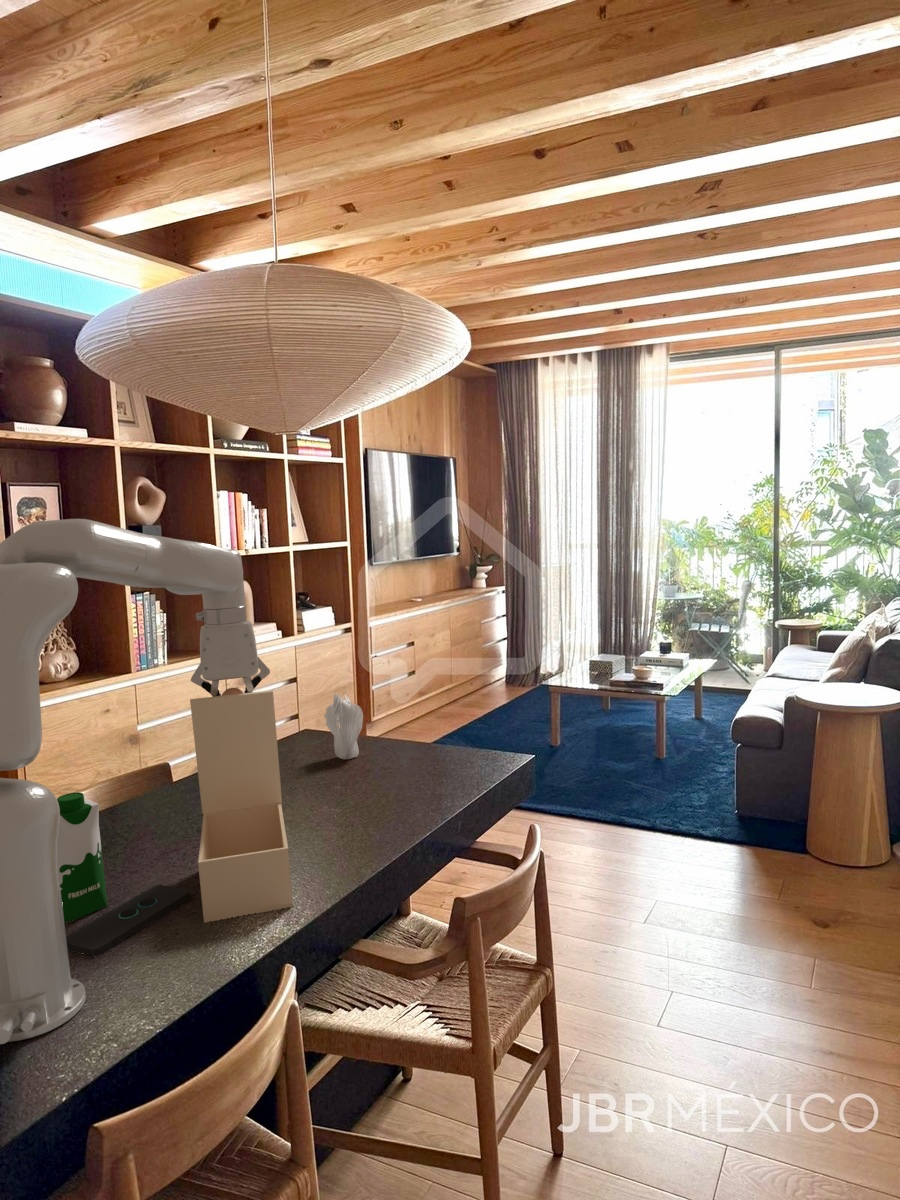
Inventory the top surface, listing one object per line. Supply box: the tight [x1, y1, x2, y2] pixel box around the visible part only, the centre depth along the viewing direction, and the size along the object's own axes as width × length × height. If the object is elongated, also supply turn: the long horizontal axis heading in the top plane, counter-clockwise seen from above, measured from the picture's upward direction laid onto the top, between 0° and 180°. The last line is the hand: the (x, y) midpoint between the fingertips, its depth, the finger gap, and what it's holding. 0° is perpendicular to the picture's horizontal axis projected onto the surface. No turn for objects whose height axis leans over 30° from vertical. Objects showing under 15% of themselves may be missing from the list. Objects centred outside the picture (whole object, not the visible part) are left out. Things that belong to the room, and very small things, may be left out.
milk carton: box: [56, 792, 108, 923], centre depth 135 cm, size 9×9×20 cm
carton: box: [197, 803, 294, 923], centre depth 140 cm, size 22×14×10 cm, turn 15°
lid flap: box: [189, 687, 283, 815], centre depth 151 cm, size 22×14×7 cm
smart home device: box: [66, 884, 192, 957], centre depth 131 cm, size 8×2×20 cm
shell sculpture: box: [324, 692, 364, 760], centre depth 212 cm, size 8×8×18 cm
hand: (234, 712), depth 151 cm, fingers closed on lid flap, 4 cm apart
